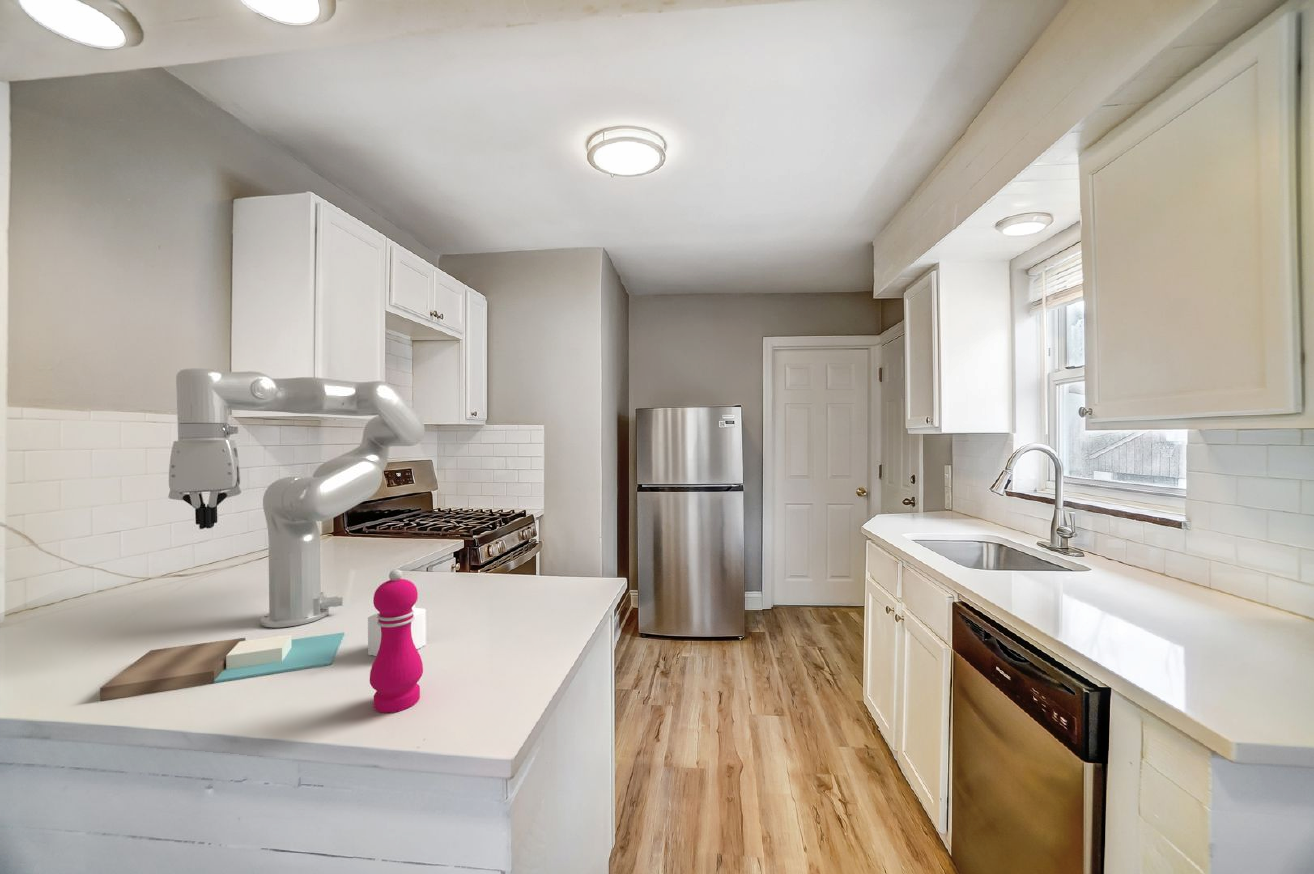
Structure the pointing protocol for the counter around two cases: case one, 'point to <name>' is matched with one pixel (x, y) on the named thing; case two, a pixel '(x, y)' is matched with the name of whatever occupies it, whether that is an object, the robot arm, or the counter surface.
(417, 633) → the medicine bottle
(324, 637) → the mat
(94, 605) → the counter surface
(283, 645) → the block
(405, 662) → the pepper mill
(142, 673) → the board
